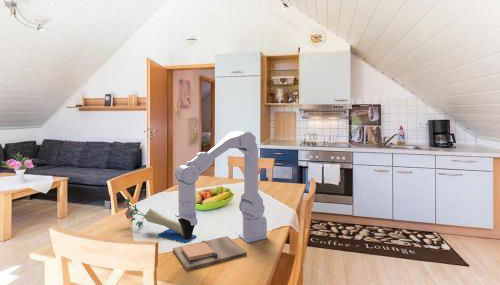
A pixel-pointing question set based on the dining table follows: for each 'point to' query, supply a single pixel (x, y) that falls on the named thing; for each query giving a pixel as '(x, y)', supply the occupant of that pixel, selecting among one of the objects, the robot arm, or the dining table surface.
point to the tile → (197, 251)
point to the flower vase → (153, 218)
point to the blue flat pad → (174, 236)
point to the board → (222, 252)
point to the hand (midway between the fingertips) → (187, 238)
